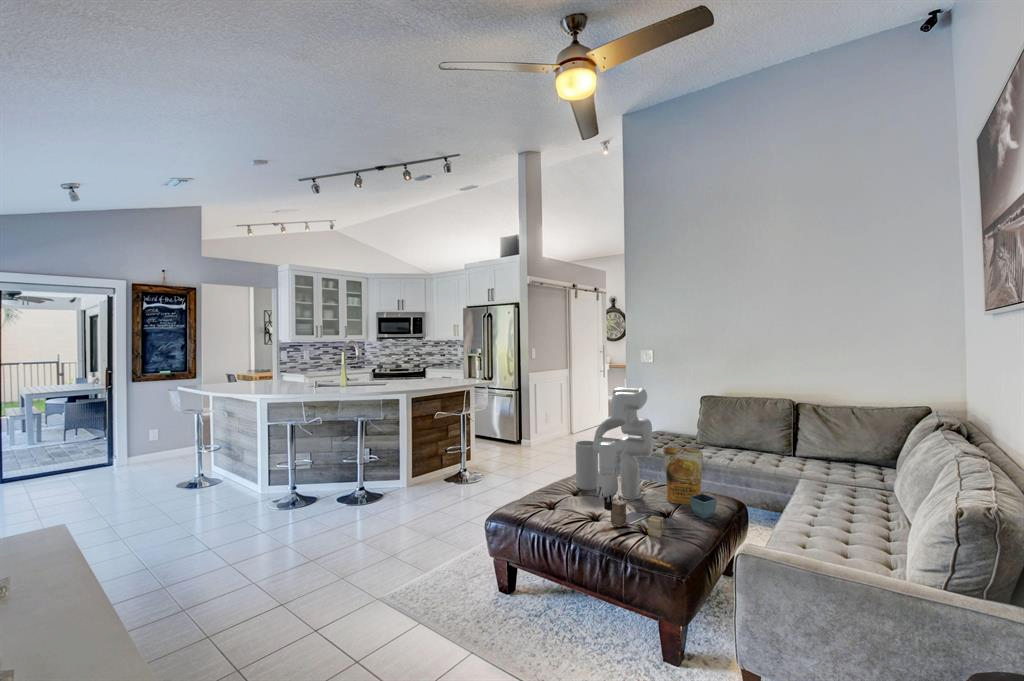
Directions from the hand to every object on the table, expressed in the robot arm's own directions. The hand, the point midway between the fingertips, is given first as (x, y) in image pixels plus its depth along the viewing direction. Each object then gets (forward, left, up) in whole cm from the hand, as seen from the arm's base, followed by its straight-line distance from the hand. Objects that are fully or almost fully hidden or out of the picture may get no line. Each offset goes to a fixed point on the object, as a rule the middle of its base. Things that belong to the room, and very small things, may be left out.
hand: (608, 509), depth 220 cm
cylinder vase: (-34, -43, -9) cm, 56 cm away
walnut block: (-7, 0, -9) cm, 11 cm away
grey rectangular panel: (-16, 0, -8) cm, 19 cm away
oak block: (-10, +18, -9) cm, 22 cm away
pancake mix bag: (-52, +6, -9) cm, 53 cm away
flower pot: (-43, +22, -9) cm, 49 cm away
